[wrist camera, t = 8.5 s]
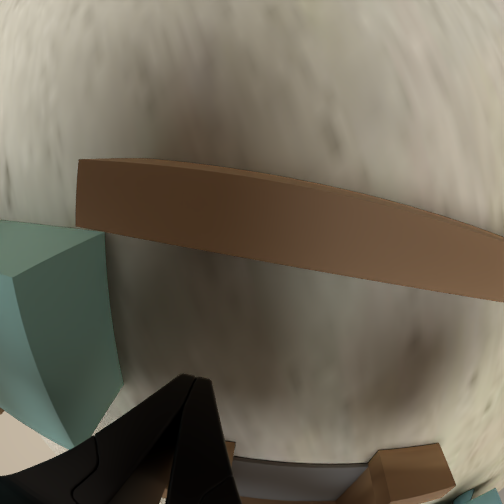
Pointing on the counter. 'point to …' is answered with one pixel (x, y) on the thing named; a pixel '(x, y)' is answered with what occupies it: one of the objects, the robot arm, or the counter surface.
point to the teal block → (56, 330)
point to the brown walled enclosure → (308, 257)
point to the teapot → (479, 498)
